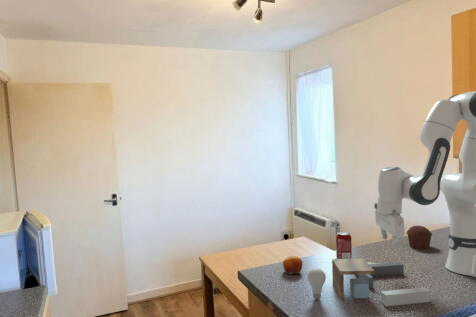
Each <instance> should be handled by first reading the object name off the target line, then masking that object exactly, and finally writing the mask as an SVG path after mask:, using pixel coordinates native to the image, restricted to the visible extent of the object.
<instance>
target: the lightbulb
mask: <svg viewBox="0 0 476 317" xmlns="http://www.w3.org/2000/svg"><path fill="white" fill-rule="evenodd" d="M326 279H327V278H326V274H325V272H324V271H323V270H322V269H321V268H319V267H313V268H311V269H310V270H309V271H308V272H307V281H308V282H309V285H310V286H311V292H312V296H313V297H312V298H313V299H314V300H316V301H318V300H320V299H321V298H322V292H323V291H322V290H323V289H322V288H323V286H324V284H325V282H326Z"/></svg>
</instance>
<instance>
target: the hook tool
mask: <svg viewBox="0 0 476 317" xmlns="http://www.w3.org/2000/svg"><path fill="white" fill-rule="evenodd" d="M379 263H380V262H379ZM369 265H370V266H371V267H372V268H373V269H374V270H375V274H354V275H355V276H356V278H357V279H358V278H364V279H365V280H366V281H367V283H368V284H369V289H372V288H373V289H374V277H382V276H384V275H385V276H396V275H397V274H399V275H404V273H405V272H404V270H405V267H404V266H405V265H404V264H403V263H401V262H400V261H397V262H384V263H383V262H382V263H380V264H369Z"/></svg>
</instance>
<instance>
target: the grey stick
mask: <svg viewBox="0 0 476 317" xmlns="http://www.w3.org/2000/svg"><path fill="white" fill-rule="evenodd" d="M380 303H381V304H382V305H383V306H384V307H391V306H403V305H411V304H422V303H431V290H430V289H428V288H427V287H424V286H423V287H414V288H413V287H411V288H402V289H393V290H381V291H380Z"/></svg>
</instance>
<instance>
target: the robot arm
mask: <svg viewBox="0 0 476 317" xmlns="http://www.w3.org/2000/svg"><path fill="white" fill-rule="evenodd" d="M460 121H466V126H467V127H466V128H467V129H466V132H465V135H464V137H463V140H462V144H461V146H460V151H459V154H458V158H459V160H460V162H461V169H462V170H461V172H452V173H446V174H444V172H445V168H446V165H447V162H448V159H449V155H450V151H451V141H452V138H453V134H454V132H455V130H456V127H457V126H458V123H459V122H460ZM419 133H420V134H419V139H420V142H421V143H422V144H423V146H424V147H426V149H427V150H428V158H427V160H426V163H425V166H424V169H423V173H422V174H421V175H420V176H418V175H414V174H411V173H408V172H407V171H405V170H403V169H401V167H398V166H392V167H391V166H389V167H385V168H382V169H381V170H380V172H379V174H378V181H377V182H378V183H377V191H378V197H377V202H376V203H374V209H375V213H374V214H375V223H376V226H378V227H379V228H380V232H381V239H383V240H388V234H390V235H391V238H392V240H390V244H391V246H392V247H397V246H398V242H399V239H400V238H404V237H405V233H406V232H405V221H404V217H403V216H401V214H402V213H403V210H402V209H403V199H408V200H410V201H413V202H414V203H417V204H418V205H420V206H429V205H431V204H434V203H435V202H436V201H437V200H438V198H439V196H440V192H441V193H442V194H443V196H444V198H445V202H446V205H447V209H448V214H449V233H448V247H449V248H448V254H447V258H446V263H445V266H444V267H445V268H446V269H447V270H449V271H451V272H453V273H456V274H459V275H465V276H469V277H473V278H476V90H475V91H474V90H473V91H467V92H464V93H458V94H453V95H452V96H451V95H450V97H449V98H445V99H440V100H437V101H436V102H435V103H434V105H433V106H432V107H431V109H430V111H429V112H428V114H427V116H426V118H425V120H424V122H423V124H422V126H421V130H420V132H419ZM443 174H444V175H443Z"/></svg>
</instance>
